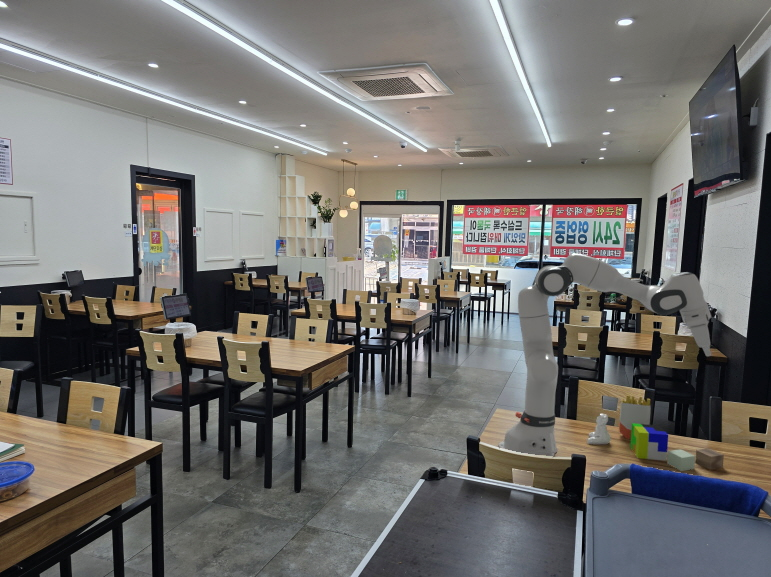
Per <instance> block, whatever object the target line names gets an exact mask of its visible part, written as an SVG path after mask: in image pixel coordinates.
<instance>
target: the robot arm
mask: <svg viewBox="0 0 771 577" xmlns="http://www.w3.org/2000/svg"><path fill="white" fill-rule="evenodd" d="M573 283H575V284H578V285H581V286H583V287H585V288H588V289H590V290H593V291H597V292H601V293H608V292H613V293H614V292H615V293H619V294H620V295H623V296H626V297H629V298H631V299H634V300H636V301H637V302H638V303H640V304H641V305H642V307H644V309H646V310H647V311H650V312H653V313H655V314H657V315H660V316H669V315H672V314H674V313H676V312H679V313H680V315H681V319H682V322H683V323H684V324H685V325H686V327H687V328H689V330H690V332H691V334H692V337H693V338H694V341H695V343H696V345H697V346H698V348H702V350H703V353H704V354H705V356H706V357H711V356H712V351H711V350H710V349H711V339H710V331H709V327H708V326H709V323H710V319H711V318H712V313H711V312H710V308H709V305H708V303H707V301H706V300H705V297H704V291H703V288H702V286H701V283H700V280H699V278H698V277H697V275H696V274H694V273H692V272H688V271H686V272H683V271H682V272H677V273H673V274H671V275H670V276H669V278H668V279H667V280H666V281H665V282H664V283H663V284H662V285H657V284H654V285H653V284H652V285H651V284H650V285H649V284H647V285H646V284H643V283H640V282H637V281H635V280H632V279H631V278H628V277H626V276H624V275H623V274H621V273H620V272H619V271H618V269H617V268H616V267H615V266H613V265H612V264H610V263H607V262H605V261H603V260H601V259H599V258H596V257H592V256H589V255H585V254H581V253H571V254H569V255H568V256H567V257H566V258H565V259H564V261H563V263H562V264H560V265H559V266H556V265H551V264H550V265H549V264H548V265H545V266H543V267H541V268H540V269H539V270H538V271H537V273H536V275H535V277H534V280H533V282H532V285H531V286H530V285H529V286H526V287H524V288H522V289H520V290H519V292H518V297H517V311H518V320H519V323H520V324H519V325H520V333H521V338H522V339H521V340H522V345H523V355H524V361H525V365H526V371H527V372H526V383H525V390H524V391H525V393H524V410H523V412H522V413H521V412H519V411H517V412H515V417H516V418H517V419H519V421H518V422H517V423H515V424H514V425H512V426H511V428H509V429H508V430H507V431H506V433H505V436H504V441H503V440H502V441H501V442H500V441H499V442H498V448H499V447H501V448H505V449H508V450H512V451H516V452H521V453H528V454H535V455H546V456H554V457H555V454H556V453H557V451H558V448H557V442H556V436H555V425H556V414H555V405H556V389H557V384H558V375H559V365H558V361H557V360H556V358H555V356H554V355H555V354H554V349H553V348H554V347H553V338H552V327H551V326H552V325H551V320H550V315H549V314H550V313H549V308H548V302H549V301H548V300H549V298H550V297H558V296H560V295H562V294H563V293H564V292H565V291H566V290H567V289H569V287H570V286H571V285H572V284H573Z"/></svg>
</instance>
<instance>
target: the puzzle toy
mask: <svg viewBox="0 0 771 577" xmlns="http://www.w3.org/2000/svg"><path fill="white" fill-rule="evenodd" d="M668 444H669V434H668V433H667V432H666V431H665V429H664V428H663V427H662V426H660V425H657V424H650V425H648V424H635V423H632V429H631V439H630V447H631V448H630V449H631V451H632V450H633V451H632V452H633V453H634V455H635V454H636V455H635V456H636V458H637V457H638V458H637V459H643V460H644V459H645V460H652V461H653V460H656V461H666V462H667V461H668V447H669V445H668Z"/></svg>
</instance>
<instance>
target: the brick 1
mask: <svg viewBox="0 0 771 577" xmlns="http://www.w3.org/2000/svg"><path fill="white" fill-rule="evenodd" d="M666 462H667V463H666V464H667V465H668V464H669V465H668V466H670V465H671V467H672V466H674V467H675V468H674V467H673V468H674V469H676V468H677V469H676V470H679V471H680V472H683V471H689V470H690V469H691V470H695V464H696V463H695V462H696V455H694V454H692V453H691V452H688V451H685V450H684V449H672V450H667V461H666ZM691 470H690V471H691Z"/></svg>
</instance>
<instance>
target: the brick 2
mask: <svg viewBox="0 0 771 577" xmlns="http://www.w3.org/2000/svg"><path fill="white" fill-rule="evenodd" d="M724 456H725V454H723V453H721V452H718V451H716V450H714V449H711V448H701V449H696V451H695V464H697V465H699V466H701V467H703V468H705V469H708V470H709V471H711V470H717V469H723V468H724V458H725V457H724Z"/></svg>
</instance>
